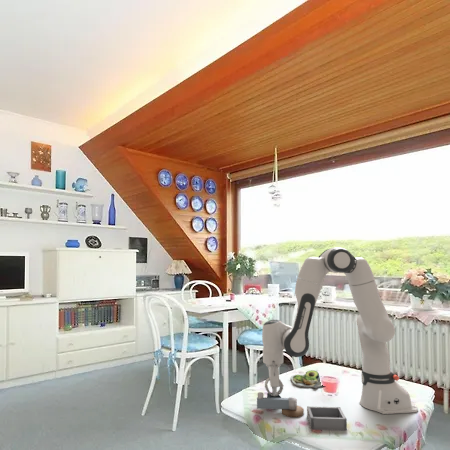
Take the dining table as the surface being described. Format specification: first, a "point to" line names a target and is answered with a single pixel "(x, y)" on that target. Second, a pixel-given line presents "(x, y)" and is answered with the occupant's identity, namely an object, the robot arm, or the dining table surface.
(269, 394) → the watch
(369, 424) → the dining table surface
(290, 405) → the crank arm
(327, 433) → the dining table surface
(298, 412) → the base
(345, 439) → the dining table surface
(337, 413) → the tray
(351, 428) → the dining table surface
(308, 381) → the avocado toast plate
